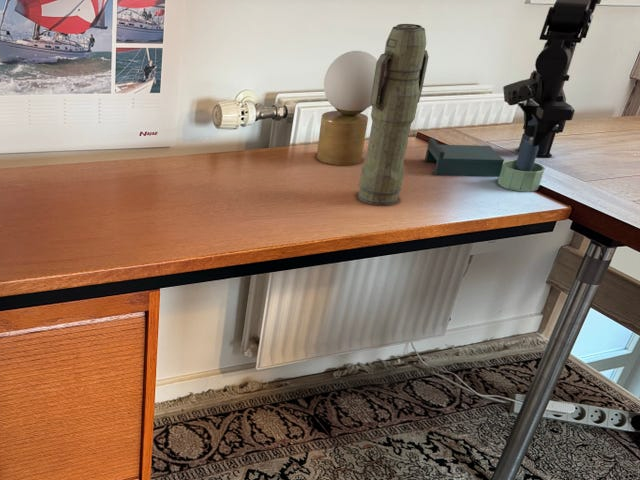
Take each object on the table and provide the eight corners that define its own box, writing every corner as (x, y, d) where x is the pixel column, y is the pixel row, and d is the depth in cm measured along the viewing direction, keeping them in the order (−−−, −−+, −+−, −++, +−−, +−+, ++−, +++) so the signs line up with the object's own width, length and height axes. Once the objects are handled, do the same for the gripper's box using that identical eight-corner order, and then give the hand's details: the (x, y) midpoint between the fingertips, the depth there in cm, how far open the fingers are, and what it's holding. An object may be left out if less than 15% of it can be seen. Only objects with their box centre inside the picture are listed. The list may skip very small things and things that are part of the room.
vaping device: (523, 169, 162) (539, 116, 155) (531, 176, 157) (548, 123, 150) (512, 168, 162) (527, 116, 155) (519, 176, 158) (535, 122, 151)
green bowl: (530, 178, 165) (536, 160, 162) (544, 192, 157) (550, 172, 155) (493, 178, 165) (498, 159, 163) (505, 191, 158) (510, 171, 155)
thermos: (343, 197, 155) (370, 25, 135) (381, 187, 160) (412, 20, 140) (373, 210, 149) (405, 32, 129) (411, 199, 154) (447, 26, 134)
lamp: (328, 144, 187) (342, 43, 173) (379, 153, 180) (397, 49, 166) (303, 158, 177) (315, 53, 163) (356, 169, 170) (373, 60, 156)
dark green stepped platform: (485, 161, 175) (491, 139, 172) (499, 176, 166) (505, 153, 163) (424, 160, 176) (429, 138, 173) (435, 174, 167) (440, 152, 164)
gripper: (499, 58, 155) (481, 129, 164) (529, 77, 140) (507, 154, 149) (551, 59, 154) (530, 130, 163) (586, 78, 139) (561, 155, 148)
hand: (530, 142), depth 156 cm, fingers closed on vaping device, 5 cm apart
